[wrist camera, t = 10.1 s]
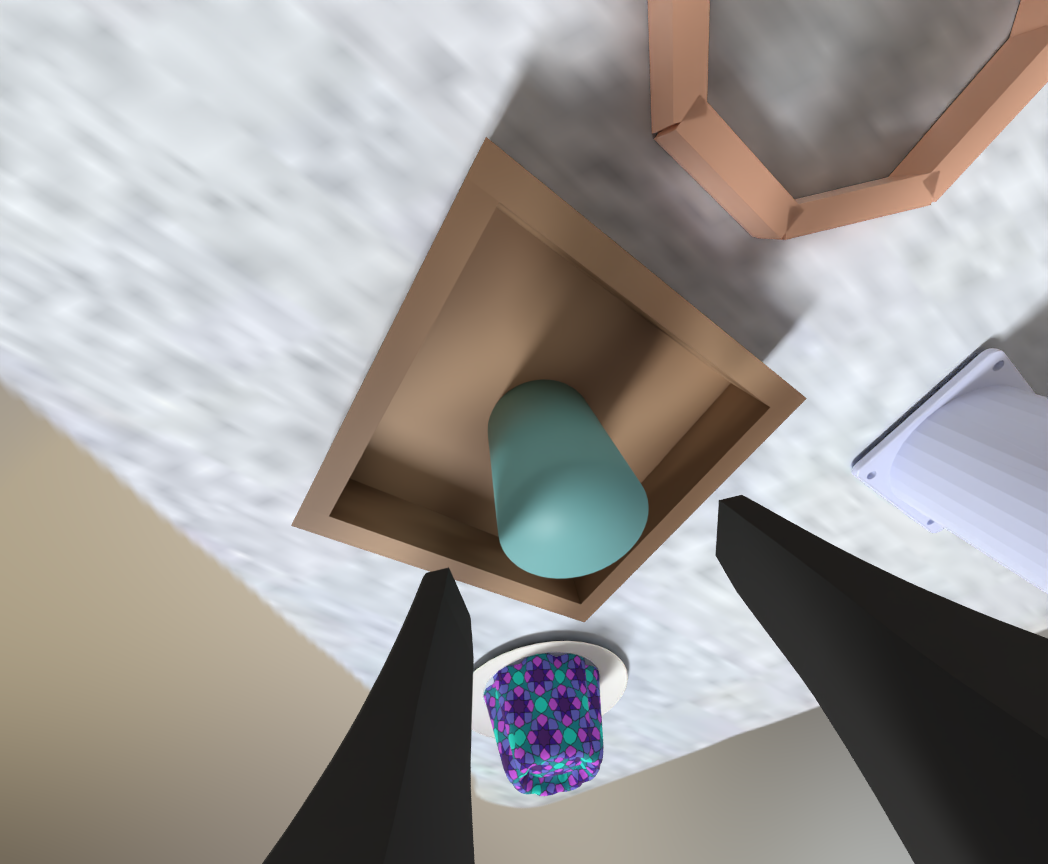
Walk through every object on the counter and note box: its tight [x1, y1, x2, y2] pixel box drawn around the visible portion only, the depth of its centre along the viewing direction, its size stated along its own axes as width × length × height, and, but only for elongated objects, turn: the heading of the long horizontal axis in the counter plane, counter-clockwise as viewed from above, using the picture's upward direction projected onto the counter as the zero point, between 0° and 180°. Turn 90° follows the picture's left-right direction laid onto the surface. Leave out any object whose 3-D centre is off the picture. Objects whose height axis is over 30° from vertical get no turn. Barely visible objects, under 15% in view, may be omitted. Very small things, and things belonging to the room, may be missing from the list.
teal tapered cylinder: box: [488, 379, 649, 578], centre depth 14 cm, size 4×6×6 cm
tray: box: [291, 137, 807, 622], centre depth 16 cm, size 14×14×3 cm
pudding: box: [472, 641, 628, 796], centre depth 25 cm, size 12×12×5 cm
